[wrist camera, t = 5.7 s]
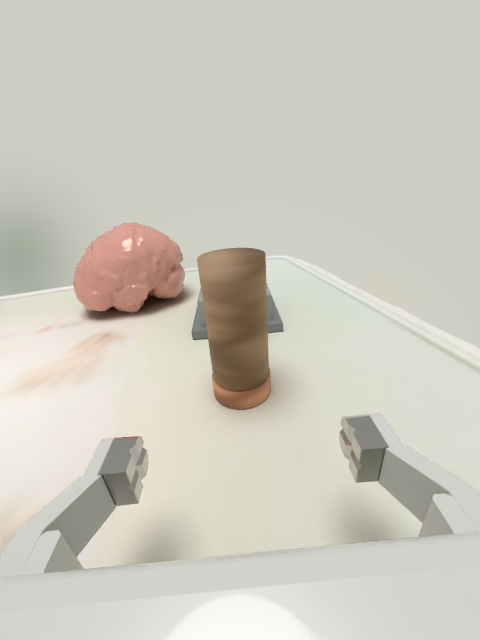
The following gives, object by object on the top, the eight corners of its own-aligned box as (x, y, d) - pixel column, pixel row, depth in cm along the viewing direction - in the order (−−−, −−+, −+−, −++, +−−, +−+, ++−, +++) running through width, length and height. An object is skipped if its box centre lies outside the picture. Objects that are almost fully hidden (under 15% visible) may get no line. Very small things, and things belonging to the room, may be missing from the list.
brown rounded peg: (213, 412, 21) (192, 268, 16) (215, 374, 25) (198, 250, 20) (274, 406, 21) (272, 261, 16) (266, 369, 25) (261, 245, 20)
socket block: (193, 339, 31) (187, 306, 29) (200, 304, 40) (196, 277, 38) (282, 331, 31) (282, 297, 29) (269, 297, 40) (268, 270, 38)
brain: (109, 352, 38) (35, 281, 32) (114, 315, 49) (60, 257, 43) (207, 288, 39) (154, 207, 33) (191, 266, 50) (149, 201, 44)
